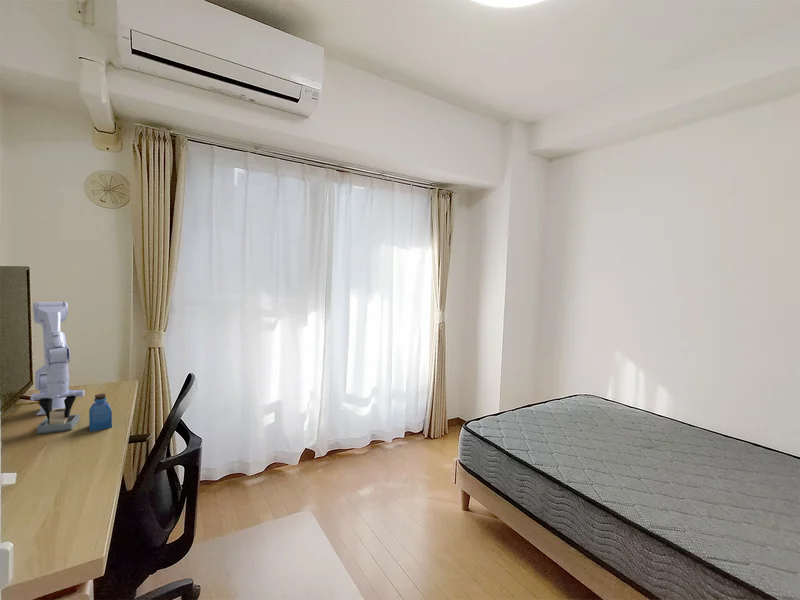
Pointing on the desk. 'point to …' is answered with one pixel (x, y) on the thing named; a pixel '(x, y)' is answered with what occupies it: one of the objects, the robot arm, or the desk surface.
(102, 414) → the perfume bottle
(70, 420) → the tray
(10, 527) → the desk surface
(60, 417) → the bored block
